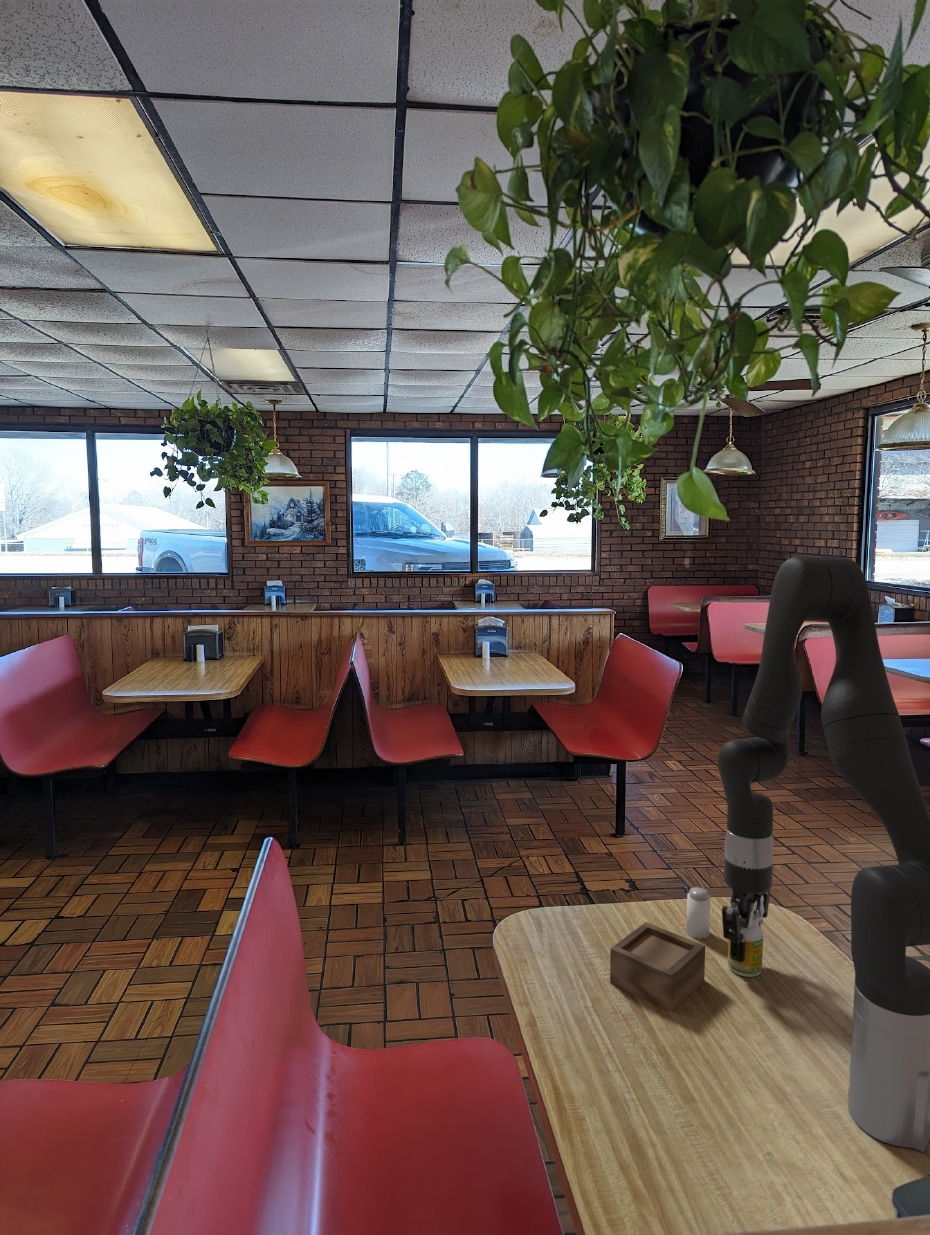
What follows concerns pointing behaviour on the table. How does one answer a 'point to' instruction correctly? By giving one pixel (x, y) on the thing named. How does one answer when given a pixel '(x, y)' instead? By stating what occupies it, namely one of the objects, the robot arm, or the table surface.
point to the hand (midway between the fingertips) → (745, 951)
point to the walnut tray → (657, 965)
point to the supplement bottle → (749, 951)
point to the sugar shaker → (698, 913)
